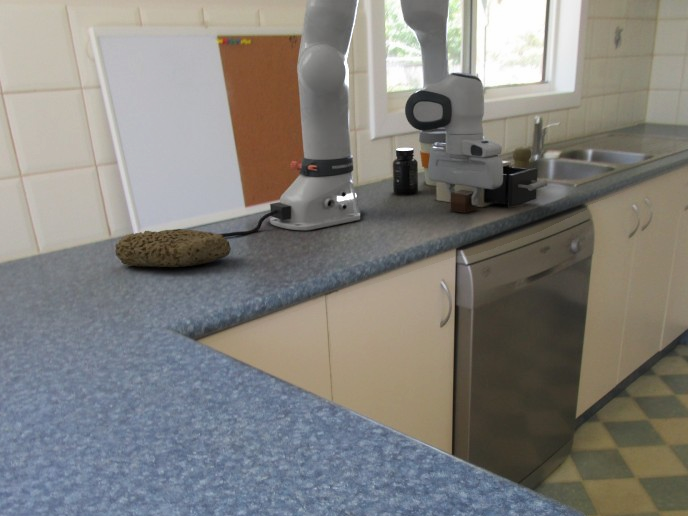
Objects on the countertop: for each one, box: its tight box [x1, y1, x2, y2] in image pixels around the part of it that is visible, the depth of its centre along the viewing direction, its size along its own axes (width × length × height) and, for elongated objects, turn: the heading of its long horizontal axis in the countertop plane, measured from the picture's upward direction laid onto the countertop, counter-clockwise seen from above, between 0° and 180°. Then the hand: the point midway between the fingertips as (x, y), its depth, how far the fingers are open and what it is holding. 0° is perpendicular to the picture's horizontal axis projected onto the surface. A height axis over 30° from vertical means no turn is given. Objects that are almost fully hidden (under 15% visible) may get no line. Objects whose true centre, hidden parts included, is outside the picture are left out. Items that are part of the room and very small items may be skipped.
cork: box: [511, 146, 532, 170], centre depth 185 cm, size 6×6×11 cm
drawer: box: [484, 166, 549, 208], centre depth 166 cm, size 18×11×8 cm, turn 49°
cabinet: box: [436, 160, 512, 208], centre depth 172 cm, size 15×13×10 cm
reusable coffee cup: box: [418, 128, 446, 187], centre depth 194 cm, size 13×12×15 cm
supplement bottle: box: [392, 147, 419, 196], centre depth 182 cm, size 7×7×12 cm
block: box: [450, 190, 477, 214], centre depth 161 cm, size 4×4×4 cm
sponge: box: [114, 228, 232, 268], centre depth 126 cm, size 13×8×20 cm
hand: (463, 203), depth 161 cm, fingers closed on block, 4 cm apart
